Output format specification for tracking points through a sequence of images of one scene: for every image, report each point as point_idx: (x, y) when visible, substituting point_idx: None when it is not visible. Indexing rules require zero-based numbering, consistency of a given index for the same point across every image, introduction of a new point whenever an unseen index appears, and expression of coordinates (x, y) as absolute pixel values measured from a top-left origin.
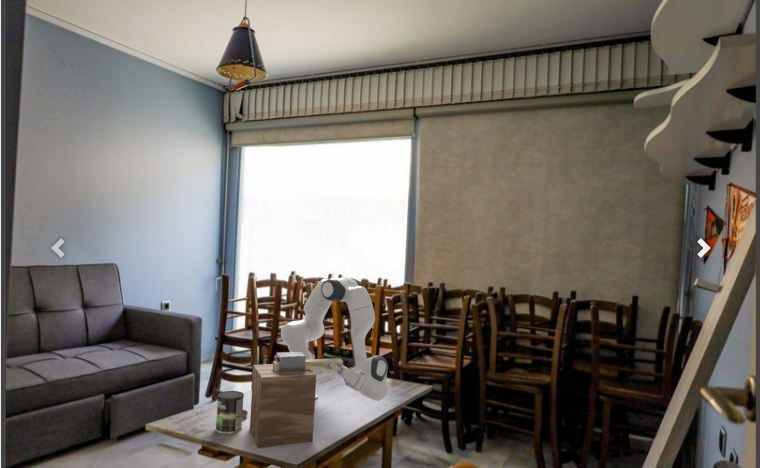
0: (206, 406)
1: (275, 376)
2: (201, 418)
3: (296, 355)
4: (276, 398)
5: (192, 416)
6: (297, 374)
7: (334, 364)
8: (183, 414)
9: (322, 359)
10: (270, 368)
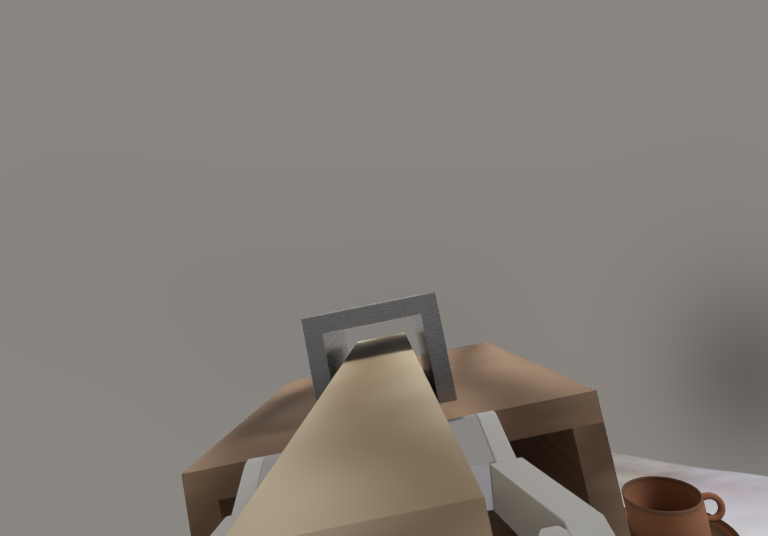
0: (752, 475)
1: (279, 393)
2: (621, 488)
3: (332, 312)
4: None
5: (631, 472)
6: (261, 421)
7: (233, 508)
8: (640, 458)
9: (406, 387)
10: (421, 365)
